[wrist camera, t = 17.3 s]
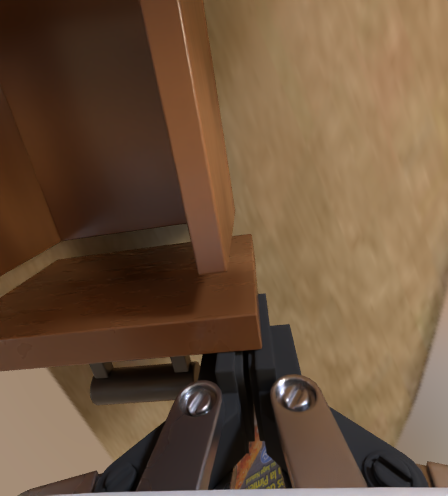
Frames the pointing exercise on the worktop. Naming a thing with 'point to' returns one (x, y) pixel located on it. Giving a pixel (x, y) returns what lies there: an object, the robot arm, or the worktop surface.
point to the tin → (258, 467)
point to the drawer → (118, 195)
